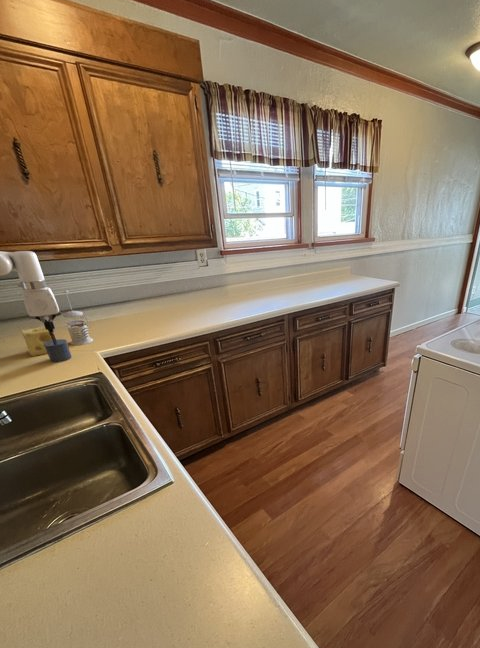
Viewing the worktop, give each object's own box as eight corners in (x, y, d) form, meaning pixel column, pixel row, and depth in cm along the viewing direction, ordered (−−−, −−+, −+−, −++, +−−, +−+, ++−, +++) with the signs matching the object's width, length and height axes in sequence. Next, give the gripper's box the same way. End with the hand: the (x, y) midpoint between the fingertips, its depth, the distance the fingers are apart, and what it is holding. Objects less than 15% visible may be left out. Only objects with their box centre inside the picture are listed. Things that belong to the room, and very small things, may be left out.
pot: (50, 364, 136) (44, 348, 132) (51, 358, 142) (45, 342, 138) (72, 361, 140) (66, 344, 136) (71, 355, 145) (66, 339, 142)
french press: (65, 343, 159) (47, 291, 147) (86, 336, 168) (71, 286, 157) (80, 346, 156) (62, 293, 144) (100, 338, 165) (86, 288, 154)
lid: (43, 349, 132) (38, 335, 130) (44, 343, 138) (39, 330, 136) (67, 346, 136) (62, 331, 133) (67, 340, 142) (62, 326, 140)
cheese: (31, 357, 143) (22, 335, 139) (28, 350, 150) (20, 329, 146) (59, 351, 149) (51, 330, 145) (55, 345, 157) (48, 325, 152)
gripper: (9, 289, 120) (28, 336, 128) (57, 285, 127) (72, 330, 135) (11, 285, 125) (29, 331, 134) (58, 282, 133) (72, 325, 141)
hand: (51, 330), depth 135 cm, fingers closed
